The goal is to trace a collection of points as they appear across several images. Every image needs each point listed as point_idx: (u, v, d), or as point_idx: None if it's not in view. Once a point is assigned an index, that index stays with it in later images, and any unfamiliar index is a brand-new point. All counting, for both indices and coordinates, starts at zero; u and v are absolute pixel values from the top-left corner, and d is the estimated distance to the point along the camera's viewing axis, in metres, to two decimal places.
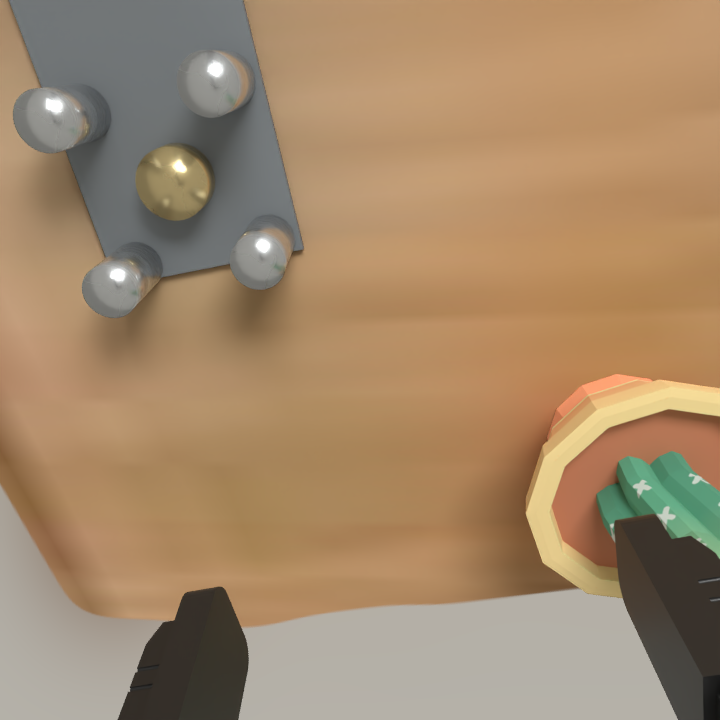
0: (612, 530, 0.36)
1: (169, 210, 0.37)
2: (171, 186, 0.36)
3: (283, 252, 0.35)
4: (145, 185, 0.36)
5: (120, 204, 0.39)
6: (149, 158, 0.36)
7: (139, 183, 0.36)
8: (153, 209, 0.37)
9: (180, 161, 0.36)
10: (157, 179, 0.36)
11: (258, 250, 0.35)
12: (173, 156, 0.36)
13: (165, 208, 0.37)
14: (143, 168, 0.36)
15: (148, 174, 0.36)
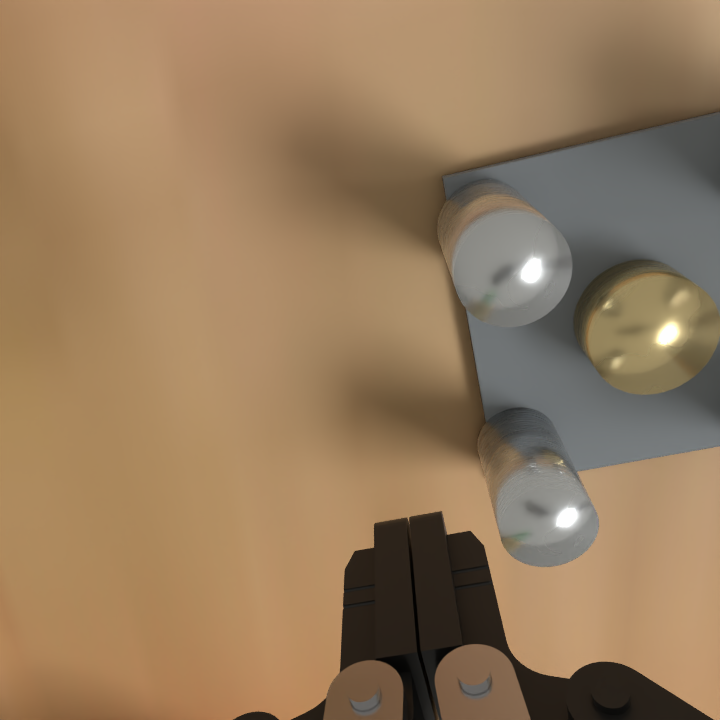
0: None
1: (610, 330, 0.21)
2: (651, 337, 0.21)
3: (561, 563, 0.21)
4: (662, 294, 0.20)
5: (602, 206, 0.21)
6: (706, 306, 0.20)
7: (666, 284, 0.20)
8: (616, 303, 0.20)
9: (690, 355, 0.21)
10: (668, 316, 0.20)
11: (570, 531, 0.20)
12: (701, 346, 0.21)
13: (614, 324, 0.20)
14: (691, 294, 0.20)
15: (679, 301, 0.20)
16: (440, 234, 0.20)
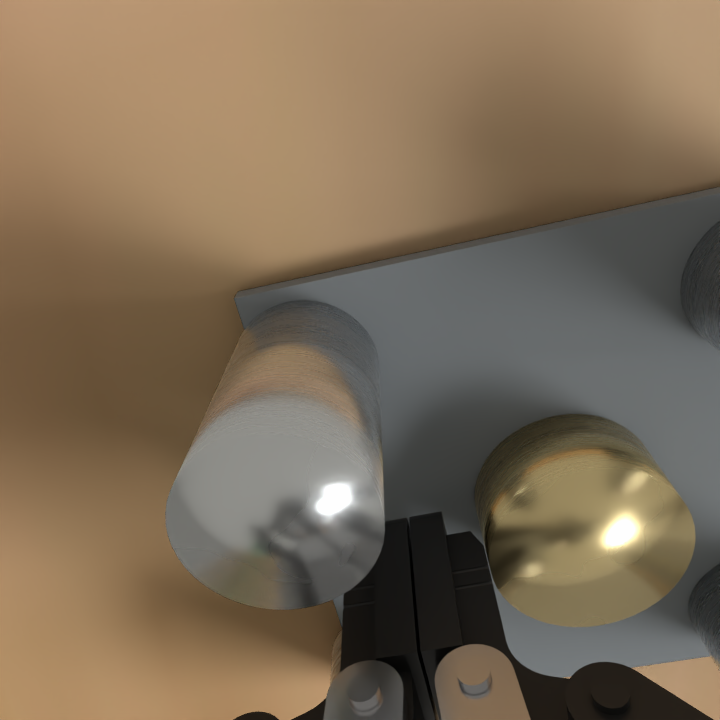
0: None
1: (519, 541, 0.13)
2: (586, 551, 0.13)
3: None
4: (600, 491, 0.12)
5: (490, 341, 0.13)
6: (672, 509, 0.12)
7: (607, 478, 0.12)
8: (526, 504, 0.12)
9: (648, 576, 0.13)
10: (611, 522, 0.13)
11: None
12: (665, 563, 0.13)
13: (525, 532, 0.13)
14: (647, 491, 0.12)
15: (629, 502, 0.12)
16: None
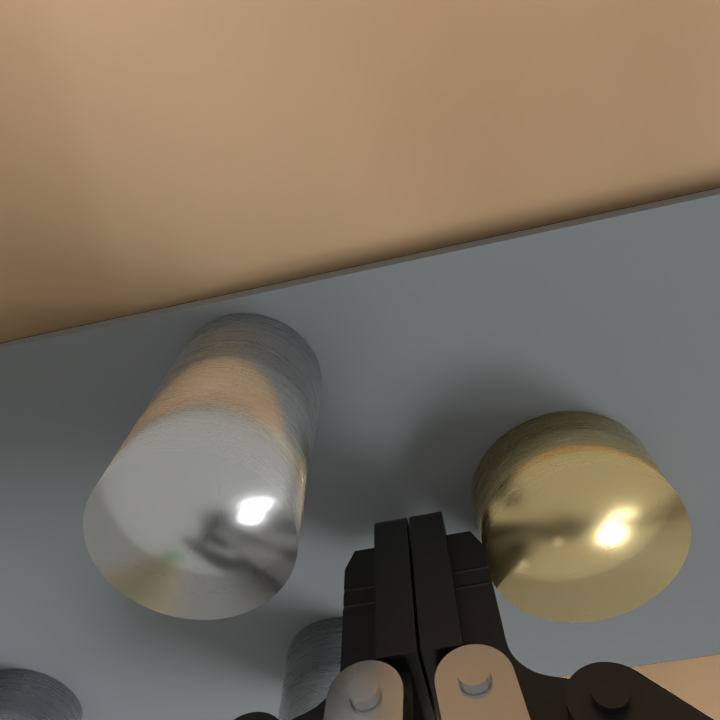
0: None
1: (516, 538, 0.13)
2: (582, 547, 0.13)
3: None
4: (595, 487, 0.12)
5: (25, 434, 0.14)
6: (667, 504, 0.12)
7: (602, 474, 0.12)
8: (522, 500, 0.12)
9: (645, 571, 0.13)
10: (606, 518, 0.13)
11: None
12: (662, 559, 0.13)
13: (522, 528, 0.13)
14: (641, 487, 0.12)
15: (624, 498, 0.12)
16: None
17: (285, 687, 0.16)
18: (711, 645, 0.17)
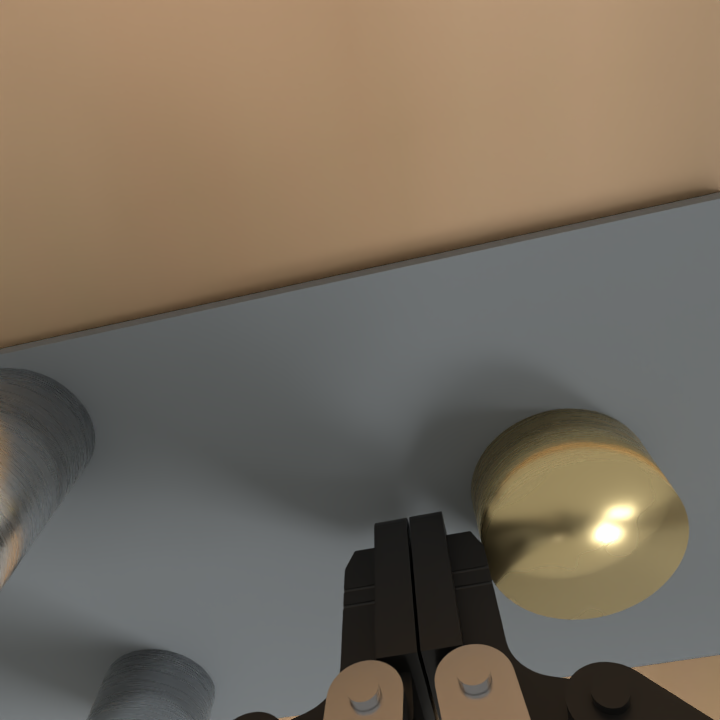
0: None
1: (514, 535, 0.13)
2: (580, 544, 0.13)
3: None
4: (591, 484, 0.12)
5: None
6: (664, 500, 0.13)
7: (597, 470, 0.12)
8: (519, 498, 0.13)
9: (644, 567, 0.13)
10: (604, 514, 0.13)
11: None
12: (660, 554, 0.13)
13: (520, 526, 0.13)
14: (638, 483, 0.12)
15: (620, 494, 0.12)
16: None
17: None
18: None
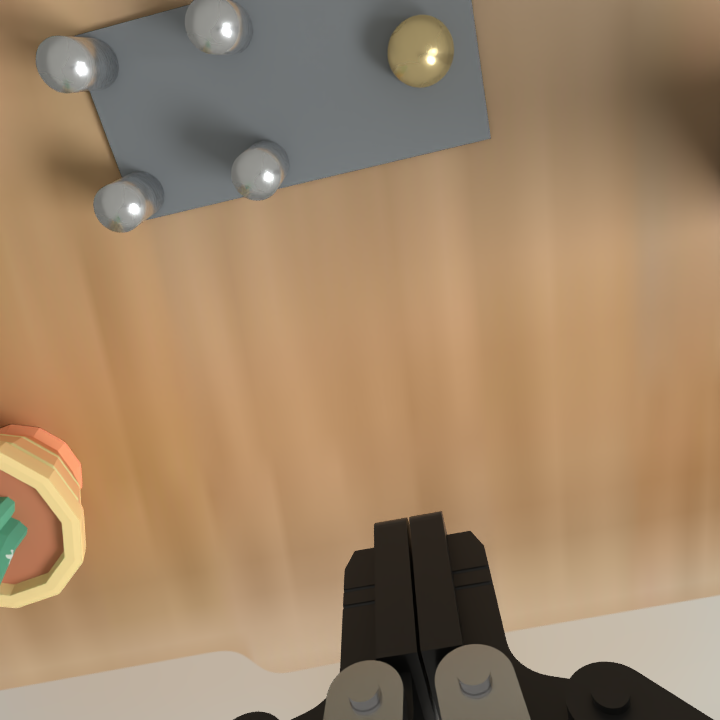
0: None
1: (397, 47, 0.40)
2: (419, 51, 0.40)
3: (130, 230, 0.41)
4: (420, 24, 0.39)
5: (151, 52, 0.42)
6: (444, 31, 0.39)
7: (421, 18, 0.39)
8: (397, 31, 0.39)
9: (441, 61, 0.40)
10: (425, 37, 0.39)
11: (128, 209, 0.41)
12: (445, 55, 0.40)
13: (398, 43, 0.39)
14: (434, 24, 0.39)
15: (429, 29, 0.39)
16: None
17: None
18: (405, 152, 0.44)
